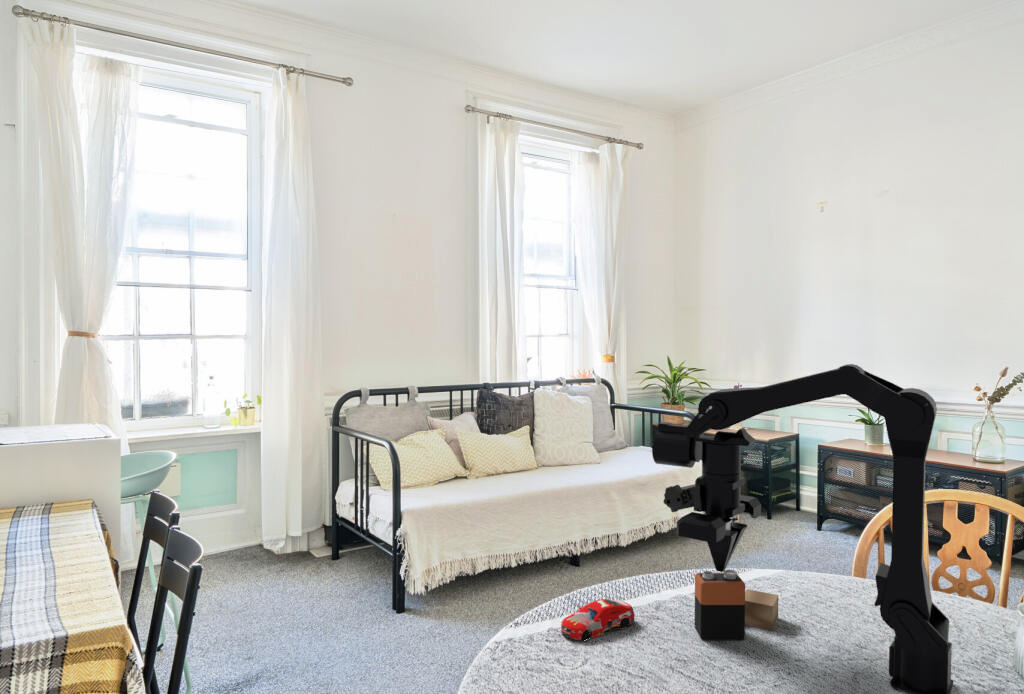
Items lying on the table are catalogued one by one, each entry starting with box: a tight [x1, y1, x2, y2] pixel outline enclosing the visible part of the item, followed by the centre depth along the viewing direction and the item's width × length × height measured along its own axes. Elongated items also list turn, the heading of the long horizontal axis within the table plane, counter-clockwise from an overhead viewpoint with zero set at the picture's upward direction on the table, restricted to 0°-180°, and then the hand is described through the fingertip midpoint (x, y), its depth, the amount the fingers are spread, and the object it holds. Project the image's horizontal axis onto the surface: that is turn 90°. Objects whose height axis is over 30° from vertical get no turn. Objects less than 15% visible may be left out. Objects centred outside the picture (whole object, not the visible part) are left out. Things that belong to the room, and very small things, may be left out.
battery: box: [694, 569, 746, 641], centre depth 107 cm, size 4×7×10 cm, turn 89°
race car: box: [560, 598, 635, 642], centre depth 109 cm, size 13×5×4 cm, turn 121°
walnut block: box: [745, 588, 779, 631], centre depth 112 cm, size 5×5×4 cm
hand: (720, 570), depth 106 cm, fingers closed
